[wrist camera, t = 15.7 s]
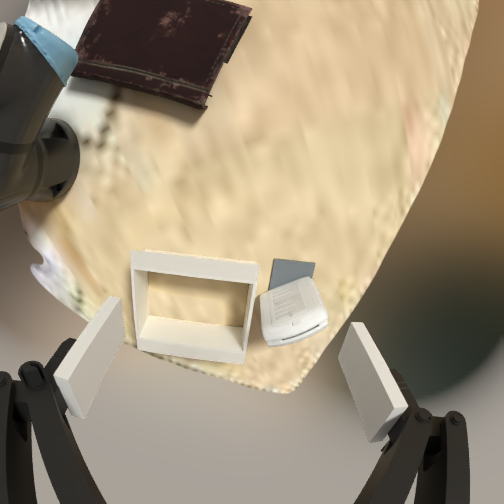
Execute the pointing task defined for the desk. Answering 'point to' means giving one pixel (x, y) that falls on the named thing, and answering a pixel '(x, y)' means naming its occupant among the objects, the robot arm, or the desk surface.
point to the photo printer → (292, 312)
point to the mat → (289, 271)
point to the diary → (161, 45)
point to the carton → (187, 332)
